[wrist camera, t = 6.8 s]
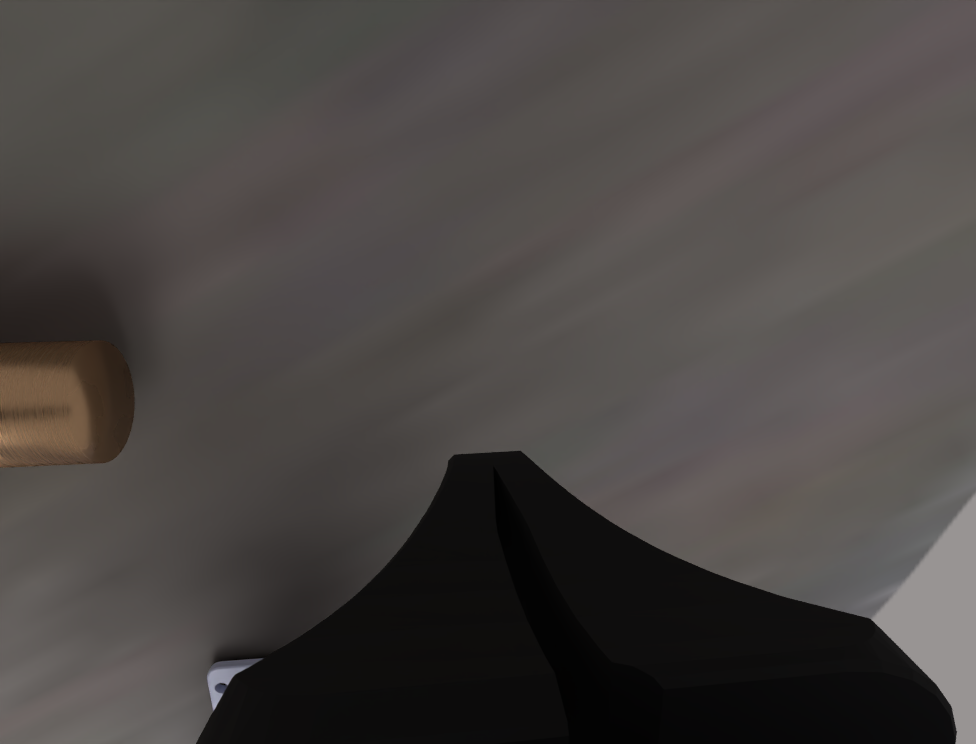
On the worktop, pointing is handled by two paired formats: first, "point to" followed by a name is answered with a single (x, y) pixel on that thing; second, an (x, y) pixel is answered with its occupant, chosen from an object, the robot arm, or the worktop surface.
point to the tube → (63, 403)
